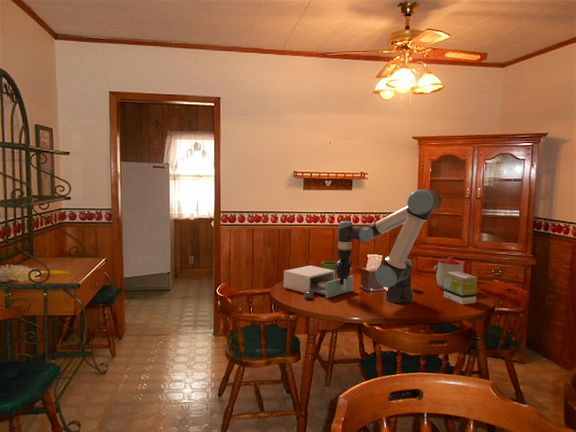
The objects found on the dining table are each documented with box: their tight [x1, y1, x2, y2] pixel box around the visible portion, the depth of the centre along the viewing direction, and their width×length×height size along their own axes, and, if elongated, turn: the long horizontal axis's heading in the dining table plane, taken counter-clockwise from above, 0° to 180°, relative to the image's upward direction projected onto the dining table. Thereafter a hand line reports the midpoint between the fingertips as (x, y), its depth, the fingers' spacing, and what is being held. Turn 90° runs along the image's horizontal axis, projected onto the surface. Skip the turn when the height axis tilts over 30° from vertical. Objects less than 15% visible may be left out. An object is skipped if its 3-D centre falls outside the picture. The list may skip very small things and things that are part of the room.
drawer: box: [310, 275, 355, 299], centre depth 262 cm, size 24×24×9 cm
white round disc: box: [317, 282, 326, 288], centre depth 263 cm, size 8×8×2 cm
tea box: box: [443, 271, 478, 305], centre depth 248 cm, size 15×10×15 cm, turn 21°
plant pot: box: [320, 260, 338, 280], centre depth 290 cm, size 12×12×11 cm
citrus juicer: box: [433, 256, 465, 291], centre depth 273 cm, size 16×17×20 cm
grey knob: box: [303, 291, 314, 301], centre depth 246 cm, size 5×5×4 cm
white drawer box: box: [283, 265, 336, 294], centre depth 270 cm, size 20×24×10 cm
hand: (342, 289), depth 253 cm, fingers closed
